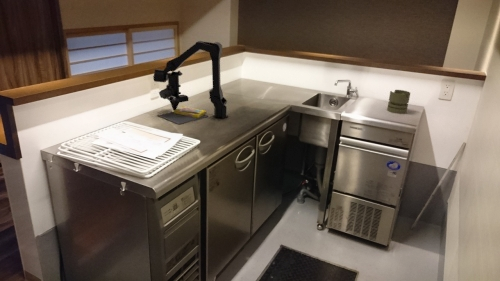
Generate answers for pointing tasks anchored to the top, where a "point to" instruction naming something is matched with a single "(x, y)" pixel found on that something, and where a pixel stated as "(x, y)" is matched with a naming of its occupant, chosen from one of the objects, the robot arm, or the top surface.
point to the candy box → (190, 112)
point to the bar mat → (179, 118)
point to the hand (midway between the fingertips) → (174, 110)
